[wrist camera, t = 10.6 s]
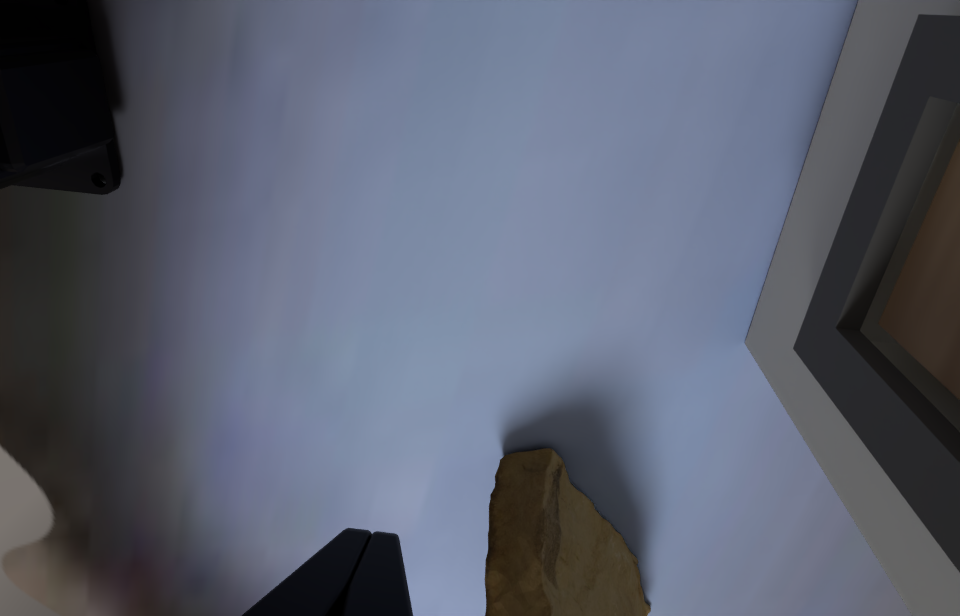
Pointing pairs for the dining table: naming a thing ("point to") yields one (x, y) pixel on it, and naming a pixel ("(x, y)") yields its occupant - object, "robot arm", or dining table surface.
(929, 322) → the peg
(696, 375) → the dining table surface
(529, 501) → the rock
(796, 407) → the off-white upright box
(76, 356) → the dining table surface
